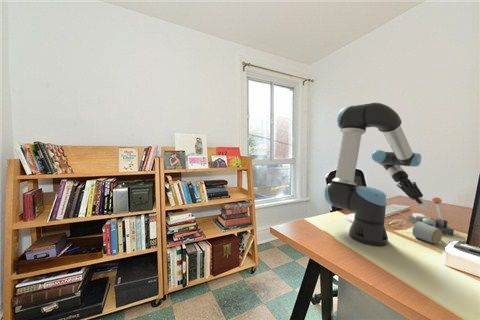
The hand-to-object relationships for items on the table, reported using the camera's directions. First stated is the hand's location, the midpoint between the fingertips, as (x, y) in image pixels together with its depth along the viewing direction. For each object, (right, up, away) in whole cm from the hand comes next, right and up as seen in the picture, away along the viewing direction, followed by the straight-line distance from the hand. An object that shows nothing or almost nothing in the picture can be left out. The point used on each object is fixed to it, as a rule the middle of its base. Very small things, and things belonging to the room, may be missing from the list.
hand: (426, 208), depth 107 cm
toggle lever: (+2, -6, -6) cm, 9 cm away
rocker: (-1, -5, +4) cm, 6 cm away
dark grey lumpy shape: (0, -10, -1) cm, 10 cm away
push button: (-4, -7, -4) cm, 9 cm away
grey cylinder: (-14, -11, -15) cm, 23 cm away
